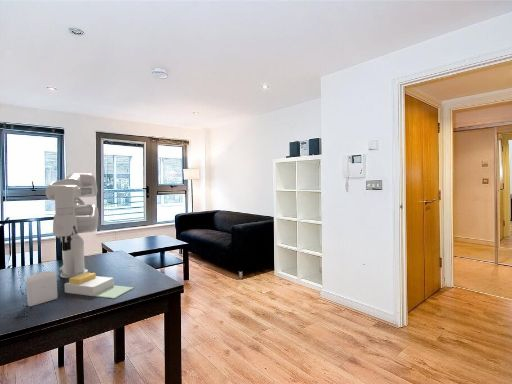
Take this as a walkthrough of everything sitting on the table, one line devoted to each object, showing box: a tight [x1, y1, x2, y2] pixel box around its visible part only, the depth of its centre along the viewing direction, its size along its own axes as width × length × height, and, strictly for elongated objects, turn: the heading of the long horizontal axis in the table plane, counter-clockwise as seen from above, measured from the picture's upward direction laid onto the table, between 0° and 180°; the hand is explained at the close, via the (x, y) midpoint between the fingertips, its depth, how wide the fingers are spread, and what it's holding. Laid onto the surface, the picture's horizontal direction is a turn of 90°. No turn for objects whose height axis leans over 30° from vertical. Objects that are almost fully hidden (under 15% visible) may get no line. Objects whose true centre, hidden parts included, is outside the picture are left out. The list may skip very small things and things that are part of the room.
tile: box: [68, 271, 97, 284], centre depth 133 cm, size 6×9×2 cm, turn 164°
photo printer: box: [26, 270, 59, 307], centre depth 119 cm, size 10×4×12 cm, turn 140°
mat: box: [93, 284, 134, 300], centre depth 129 cm, size 11×12×1 cm
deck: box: [64, 275, 115, 297], centre depth 133 cm, size 16×12×4 cm
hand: (66, 250), depth 135 cm, fingers closed
